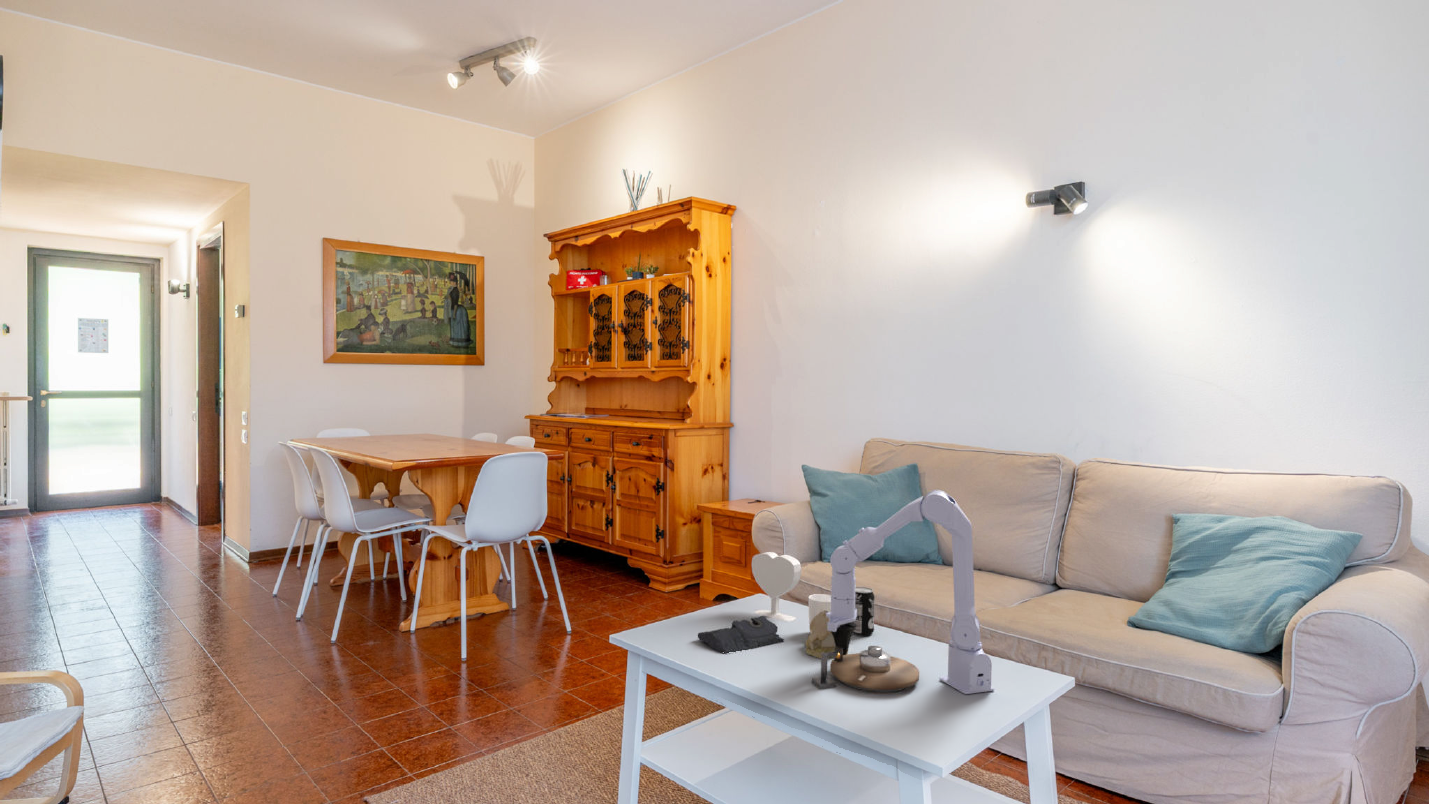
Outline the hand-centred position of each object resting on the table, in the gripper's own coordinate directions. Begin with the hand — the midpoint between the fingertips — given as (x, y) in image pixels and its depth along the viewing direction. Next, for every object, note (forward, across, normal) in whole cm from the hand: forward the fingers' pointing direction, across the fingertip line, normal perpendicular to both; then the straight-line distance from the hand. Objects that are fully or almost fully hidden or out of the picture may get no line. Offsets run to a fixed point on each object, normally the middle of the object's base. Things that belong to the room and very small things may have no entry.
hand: (841, 654), depth 185 cm
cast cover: (+1, +2, +9) cm, 9 cm away
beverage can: (+4, -29, -5) cm, 30 cm away
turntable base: (+3, +2, +9) cm, 10 cm away
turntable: (+2, +2, +9) cm, 9 cm away
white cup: (+4, -22, -14) cm, 26 cm away
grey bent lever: (+3, +12, 0) cm, 13 cm away
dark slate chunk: (+4, -5, -30) cm, 31 cm away
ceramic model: (+4, -11, -9) cm, 14 cm away
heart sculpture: (+4, -31, -32) cm, 45 cm away
